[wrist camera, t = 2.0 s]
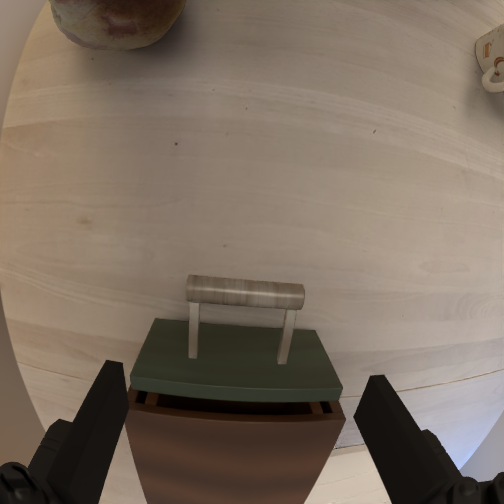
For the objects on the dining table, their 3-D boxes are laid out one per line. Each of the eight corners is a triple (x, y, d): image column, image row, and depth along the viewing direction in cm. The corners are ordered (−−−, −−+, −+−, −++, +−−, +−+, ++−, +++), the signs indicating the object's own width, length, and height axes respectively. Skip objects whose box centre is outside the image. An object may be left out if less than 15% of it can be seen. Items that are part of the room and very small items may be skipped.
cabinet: (151, 333, 25) (120, 407, 16) (314, 345, 27) (346, 419, 18) (160, 442, 30) (148, 508, 20) (285, 450, 31) (297, 514, 22)
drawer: (155, 249, 23) (121, 288, 15) (329, 265, 24) (368, 307, 16) (162, 432, 28) (151, 488, 20) (286, 439, 29) (297, 495, 22)
